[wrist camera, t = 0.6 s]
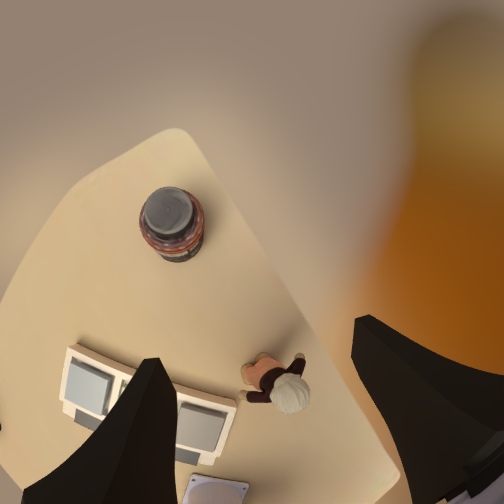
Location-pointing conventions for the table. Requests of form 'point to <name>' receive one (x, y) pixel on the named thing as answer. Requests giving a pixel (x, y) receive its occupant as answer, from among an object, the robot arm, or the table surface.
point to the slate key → (87, 387)
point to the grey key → (198, 427)
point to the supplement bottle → (172, 223)
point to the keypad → (124, 375)
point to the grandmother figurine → (276, 383)
